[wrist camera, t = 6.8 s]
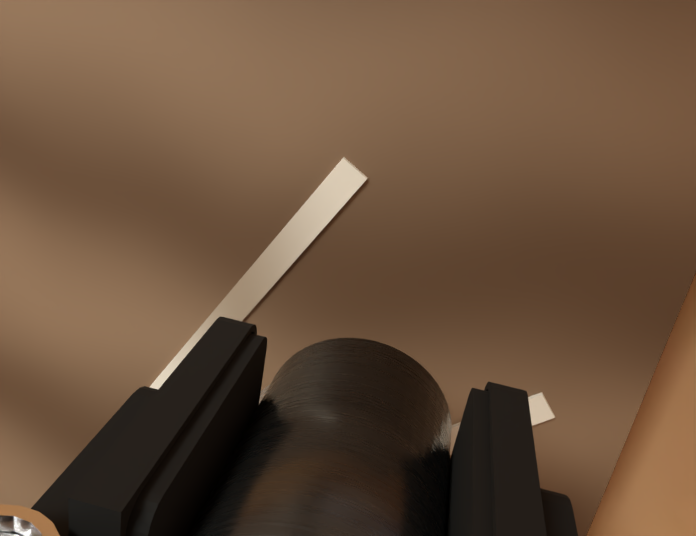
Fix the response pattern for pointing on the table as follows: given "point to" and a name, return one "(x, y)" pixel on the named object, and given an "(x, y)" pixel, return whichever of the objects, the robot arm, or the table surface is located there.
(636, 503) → the table surface
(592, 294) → the cracker board
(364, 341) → the lever
